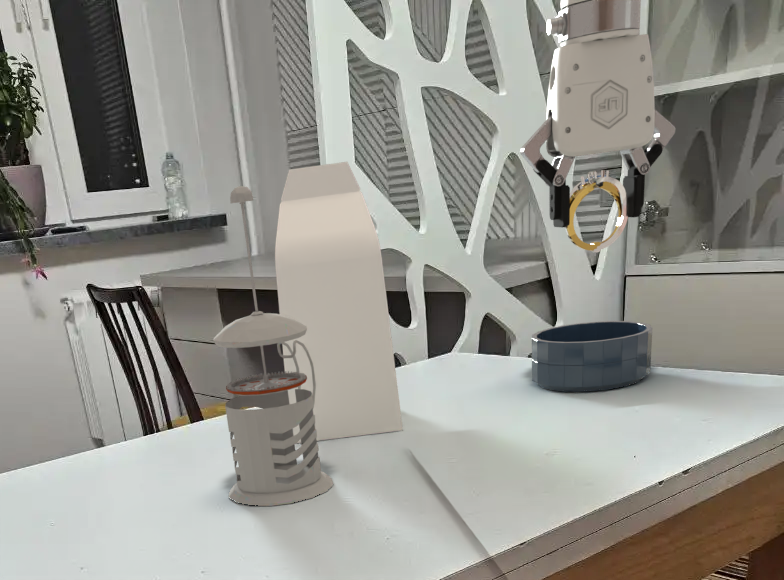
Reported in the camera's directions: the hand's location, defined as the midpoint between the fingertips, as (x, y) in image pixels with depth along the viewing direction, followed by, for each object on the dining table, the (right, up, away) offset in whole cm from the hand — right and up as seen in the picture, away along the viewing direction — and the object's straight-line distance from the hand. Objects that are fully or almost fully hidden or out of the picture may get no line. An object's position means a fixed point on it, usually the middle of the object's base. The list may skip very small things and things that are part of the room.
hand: (596, 220), depth 98 cm
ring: (0, -3, +2) cm, 3 cm away
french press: (-33, -31, -14) cm, 47 cm away
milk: (-27, -21, +4) cm, 35 cm away
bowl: (+2, -15, +9) cm, 17 cm away
